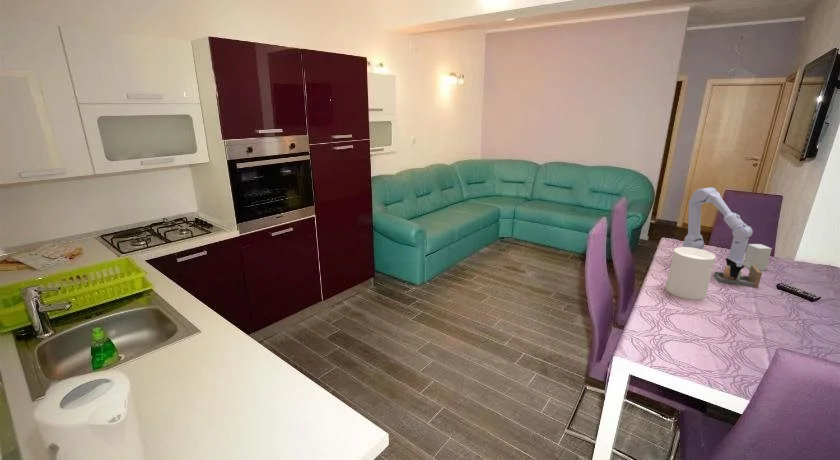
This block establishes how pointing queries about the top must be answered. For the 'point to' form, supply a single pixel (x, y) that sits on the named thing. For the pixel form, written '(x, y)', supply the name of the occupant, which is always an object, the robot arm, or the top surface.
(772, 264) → the top surface
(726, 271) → the terracotta jar
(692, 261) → the canister
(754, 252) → the supplement box
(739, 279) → the pusher paddle
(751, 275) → the pusher lane
